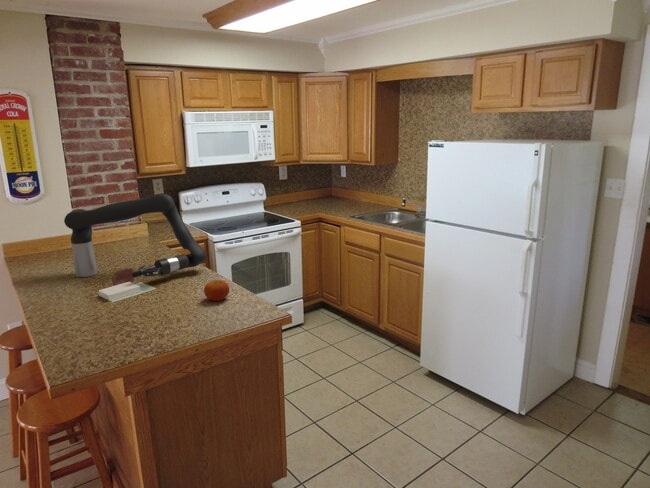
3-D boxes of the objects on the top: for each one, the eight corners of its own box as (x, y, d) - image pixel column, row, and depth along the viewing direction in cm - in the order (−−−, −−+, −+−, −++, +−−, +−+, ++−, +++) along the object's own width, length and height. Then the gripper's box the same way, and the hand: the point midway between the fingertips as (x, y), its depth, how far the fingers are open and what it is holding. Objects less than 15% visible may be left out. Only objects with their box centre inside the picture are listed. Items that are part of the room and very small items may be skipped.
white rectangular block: (129, 281, 212) (98, 290, 202) (140, 286, 206) (108, 295, 196) (130, 286, 213) (99, 295, 203) (140, 291, 207) (109, 301, 197)
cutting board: (141, 283, 219) (141, 282, 219) (156, 289, 210) (156, 288, 210) (98, 295, 205) (98, 294, 205) (112, 303, 196) (112, 302, 196)
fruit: (203, 296, 200) (202, 279, 198) (227, 293, 204) (226, 275, 201) (206, 305, 190) (204, 287, 188) (232, 301, 194) (230, 283, 192)
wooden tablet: (135, 284, 219) (135, 281, 219) (112, 288, 216) (112, 284, 215) (135, 268, 243) (134, 265, 243) (114, 271, 240) (114, 268, 239)
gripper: (158, 255, 223) (123, 264, 211) (173, 260, 215) (138, 270, 202) (160, 270, 225) (126, 280, 213) (175, 275, 217) (140, 286, 204)
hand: (132, 275), depth 208 cm, fingers closed
